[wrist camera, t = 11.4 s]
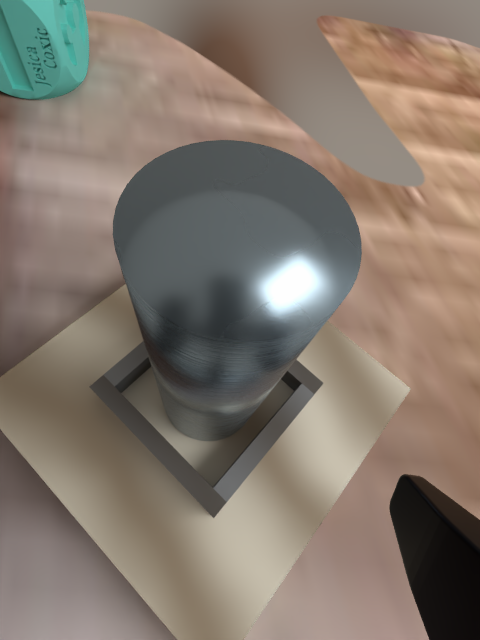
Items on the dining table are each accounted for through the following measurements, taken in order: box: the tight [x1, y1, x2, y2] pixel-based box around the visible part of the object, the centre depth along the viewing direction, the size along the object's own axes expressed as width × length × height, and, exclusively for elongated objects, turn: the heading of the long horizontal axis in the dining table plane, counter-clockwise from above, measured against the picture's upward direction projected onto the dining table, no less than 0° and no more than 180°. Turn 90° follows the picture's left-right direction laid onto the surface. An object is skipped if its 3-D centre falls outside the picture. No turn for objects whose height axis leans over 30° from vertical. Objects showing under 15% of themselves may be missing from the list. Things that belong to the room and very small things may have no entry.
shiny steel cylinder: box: [113, 140, 362, 441], centre depth 13 cm, size 5×5×13 cm
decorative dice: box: [0, 0, 89, 100], centre depth 27 cm, size 8×8×8 cm
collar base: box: [0, 284, 410, 640], centre depth 18 cm, size 16×16×3 cm
